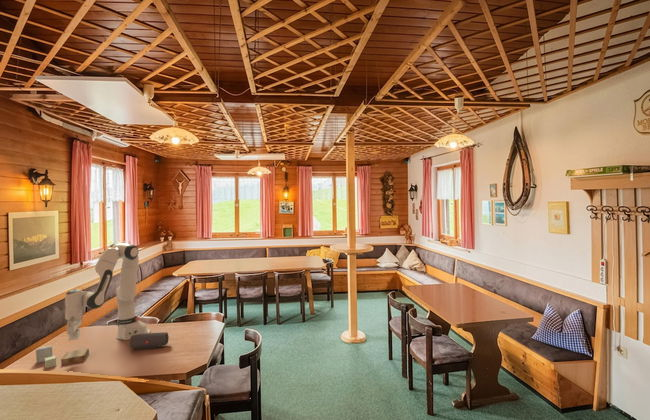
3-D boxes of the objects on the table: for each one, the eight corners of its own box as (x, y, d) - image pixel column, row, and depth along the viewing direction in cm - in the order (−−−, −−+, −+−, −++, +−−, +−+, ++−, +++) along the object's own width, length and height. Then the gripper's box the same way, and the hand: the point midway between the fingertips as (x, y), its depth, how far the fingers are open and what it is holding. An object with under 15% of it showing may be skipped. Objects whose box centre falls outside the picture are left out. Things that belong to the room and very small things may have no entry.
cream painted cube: (80, 336, 218) (79, 329, 218) (78, 339, 213) (78, 331, 213) (70, 337, 216) (70, 330, 216) (68, 340, 211) (68, 332, 211)
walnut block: (89, 354, 223) (88, 348, 223) (84, 361, 212) (84, 355, 212) (67, 357, 218) (66, 351, 218) (61, 365, 207) (61, 359, 207)
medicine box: (52, 357, 218) (52, 344, 218) (52, 360, 215) (51, 346, 214) (36, 361, 213) (36, 348, 213) (36, 364, 210) (35, 350, 209)
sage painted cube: (55, 363, 210) (54, 355, 210) (56, 365, 206) (55, 358, 206) (44, 366, 206) (44, 358, 206) (45, 368, 203) (45, 360, 203)
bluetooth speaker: (129, 352, 223) (128, 337, 223) (135, 346, 232) (134, 332, 232) (164, 349, 226) (164, 334, 226) (169, 343, 236) (168, 329, 235)
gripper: (75, 318, 206) (76, 340, 207) (83, 309, 225) (84, 330, 225) (63, 320, 204) (63, 342, 204) (72, 311, 222) (73, 331, 222)
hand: (74, 336), depth 215 cm, fingers closed on cream painted cube, 5 cm apart
